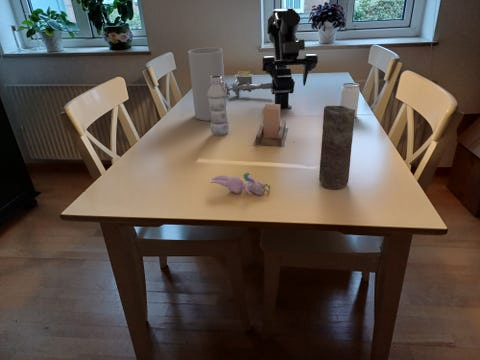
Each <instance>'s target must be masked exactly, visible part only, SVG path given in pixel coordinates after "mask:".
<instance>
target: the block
mask: <svg viewBox="0 0 480 360" xmlns="http://www.w3.org/2000/svg"><path fill="white" fill-rule="evenodd" d="M280 106H281V104H275V103H265V104H264V106H263V109H262V113H263V114H262V115H263V117H262V121H263V138H277V137H278V134H279V130H280V127H281V110H280Z"/></svg>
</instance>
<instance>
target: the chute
mask: <svg viewBox="0 0 480 360" xmlns="http://www.w3.org/2000/svg"><path fill="white" fill-rule="evenodd" d="M286 125H287V120H286V119H282V120H281V122H280V130H279V134H278V137H277V138H263V120H262V121H261V124H260V126H259V128H258V130H257V133H256V135H255V139H254V142H253V144H252V146H254V147H255V146H259V147H275V148H276V147H279V148H281V147H282V148H285V145H286V143H287V142H286V141H287V137H288V132H289V128H288V127H287V126H286ZM286 127H287V128H286Z"/></svg>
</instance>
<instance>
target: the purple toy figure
mask: <svg viewBox="0 0 480 360" xmlns="http://www.w3.org/2000/svg"><path fill="white" fill-rule="evenodd" d="M249 175H251V173H249V172H246V173H244V174H243V179H244V181H246V182H247V183H245V184H244V182H243V179H242V178H240V177H238V176H230V177H229V176H227V175H218V176H215V177H213V178H212V179H211V181H210V183H211V184H217V185H220V186H222V187H224V188H227V189H228V190H229V191H230V192H233V193H234V194H235V193H236V194H238V193H240V192H242V191H243V190H244V191H245V192H246V193H247V194H249V195H251V194H252V193H254V194H255V195H257V196H259V197H260V196H262V195H263V194H264V193H265V192H266V193H267V196H269V195H270V189H271V185H269V184H267V183H264V184H263V183H261V182H260V181H255V179H254V178H253V177H251V176H249ZM266 187H268V189H266ZM251 192H252V193H251Z"/></svg>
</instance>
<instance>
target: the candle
mask: <svg viewBox="0 0 480 360" xmlns="http://www.w3.org/2000/svg"><path fill="white" fill-rule="evenodd" d="M355 119H356V117H355V110H354V109H349V108H346V107H344V106H340V105H326V106H324V108H323V118H322V132H321V133H322V134H321V145H320V146H321V148H320V159H319V174H318V177H319V178H318V180H319V183H320V184H321V185H322V187H324V189H328V190H329V189H330V190H338V189H341V188H343V187H344V186H347V185H348V184H349V180H350V179H349V177H350V168H351V167H350V166H351V159H352V158H351V155H352V148H353V147H352V144H353V138H354V137H353V136H354V129H355Z"/></svg>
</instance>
